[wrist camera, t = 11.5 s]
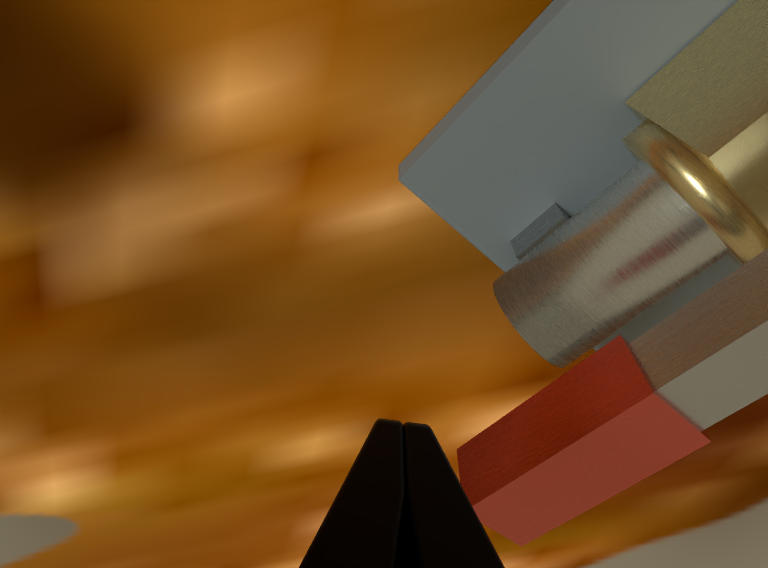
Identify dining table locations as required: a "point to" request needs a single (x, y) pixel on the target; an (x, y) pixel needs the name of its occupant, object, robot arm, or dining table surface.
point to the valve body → (656, 198)
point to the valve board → (556, 127)
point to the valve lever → (622, 411)
